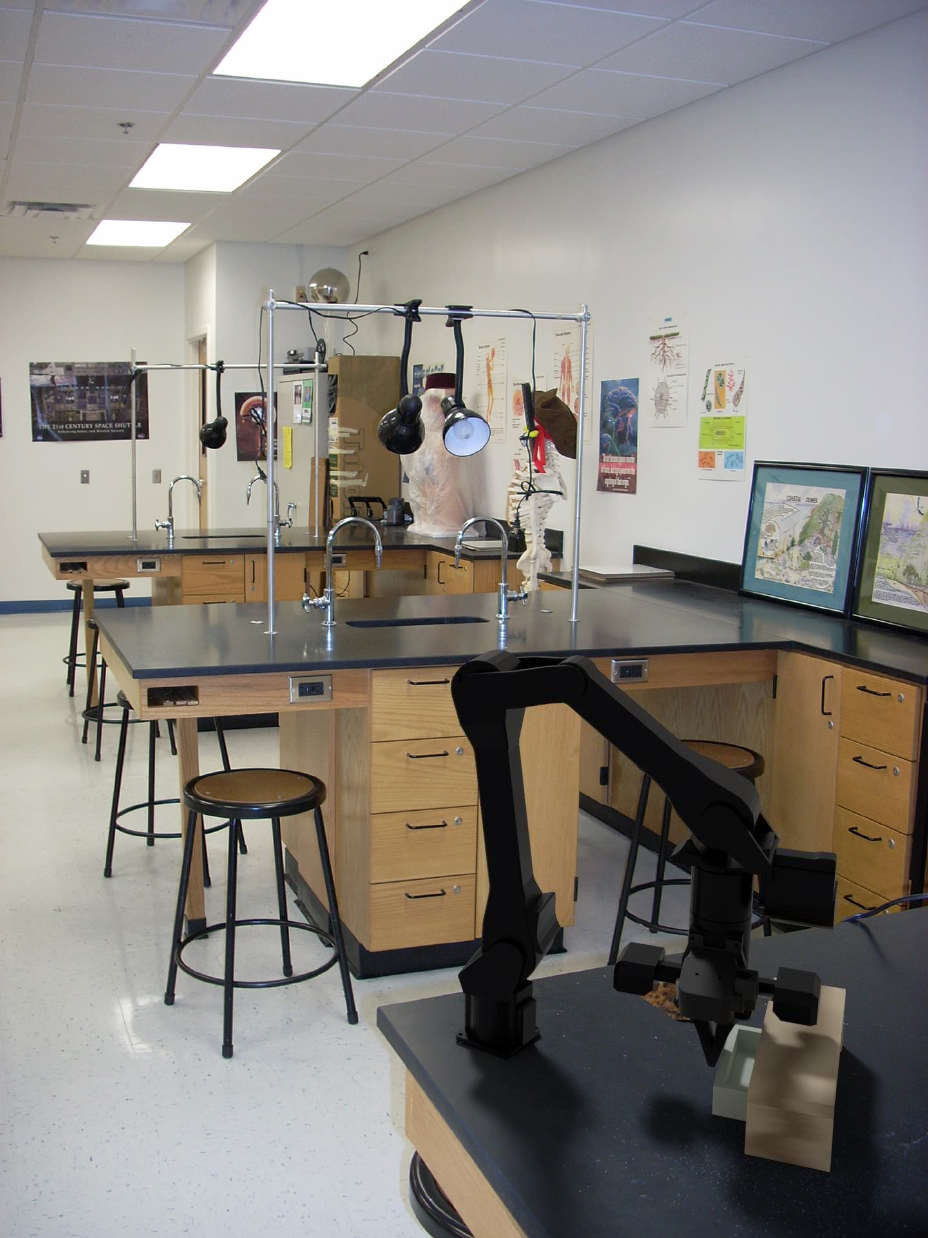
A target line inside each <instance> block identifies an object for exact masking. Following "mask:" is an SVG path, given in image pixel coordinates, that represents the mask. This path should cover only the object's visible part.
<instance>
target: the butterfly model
mask: <svg viewBox="0 0 928 1238" xmlns="http://www.w3.org/2000/svg"><path fill="white" fill-rule="evenodd" d="M676 991H677V989H676V984H672V983H667V982H661V981H657V982H654V988H653V990H652V991H651V992H649V993H648V994H647V995H645V996H640V995H638V996H639V997H640V998H641V999H644V1000H645V1001H647V1002H649V1003H650V1004H651V1005H653V1007H655V1006H656V1008H658V1009H660V1010H661V1011H663V1012H664V1013H666V1015H667V1016H668V1017H670V1018H671V1019H673V1020H676V1021H684V1020H685V1021H689V1022H693V1021H692V1019H691V1018H686V1017H684V1016H682V1015H681V1014H680V1012H679V1009H677V1008H676V1007H675V1006H674V1000H675V998H676Z"/></svg>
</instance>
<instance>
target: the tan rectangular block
mask: <svg viewBox="0 0 928 1238" xmlns="http://www.w3.org/2000/svg"><path fill="white" fill-rule="evenodd" d="M773 979H774V980H776V979H777V977H773ZM846 991H847V989H846V988H841V987H836V986H835V987H834V986H829V985H821V999H820V1006H819V1013H818V1020H817V1025H813V1026H805V1025H800V1024H794V1023H789V1022H783V1021H780V1020H779V1018H778V1017H777V1016H776V1015H775V1014H774V1013H773V1012H772V1009H773V1001H768V1002H767V1006H766V1010H765V1011H766V1012H765V1015H764V1019H763V1022H762V1023H763V1024H762V1027H761V1029H762V1031H761V1036H760V1040H759V1044H758V1048H757V1053H756V1057H755V1061H754V1065H753V1070H752V1074H751V1078H750V1082H749V1087H748V1096H747V1116H746V1121H745V1137H744V1140H745V1141H744V1155H748V1156H753V1157H758V1158H763V1159H767V1160H770V1161H771V1160H773V1161H777V1162H781V1163H786V1164H791V1165H794V1166H800V1167H805V1168H807V1169H808V1168H810V1169H815V1170H817V1171H818V1170H819V1171H823V1172H828V1173H830V1172H831V1164H832V1163H831V1161H832V1147H833V1145H832V1144H833V1131H834V1118H835V1117H834V1115H835V1104H836V1103H835V1102H836V1096H837V1095H836V1094H837V1093H836V1092H837V1085H838V1084H837V1083H838V1076H839V1075H838V1074H839V1064H840V1053H842V1050H843V1036H844V1027H845V1025H844V1023H845V1010H846V1009H845V1007H846V994H847V993H846Z"/></svg>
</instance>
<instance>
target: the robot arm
mask: <svg viewBox="0 0 928 1238" xmlns="http://www.w3.org/2000/svg"><path fill="white" fill-rule="evenodd" d="M451 678H452V679H451V682H450V694H451V699H452V704H453V706H454V708H455V709H454V710H455V713H456V716H457V720H458V724H459V726H460V727H461V729H462V731H463V733H464V734H465V737H466V738H467V740H468V742H469V744H470V745H471V748H472V749H473V756H474V761H475V770H476V778H477V789H478V790H477V791H478V798H479V806H480V815H481V816H480V817H481V824H482V826H481V827H482V834H483V842H484V851H485V861H486V867H487V868H486V870H487V878H488V893H487V900H486V905H485V908H484V913H483V919H482V922H481V924H482V925H481V940H480V946H479V948H478V949H477V950H476V951H475V953H474V954H473V955H472V956H471V957H470V959H469V960H468V961H467V962H466V964H465V965H464V966H463V967H462V969H461V970H460V971H459V973H458V974H457V977H458V978H457V979H458V980H459V984H460V986H461V990H462V992H463V995H464V1027H463V1028H461V1029H460V1030H458V1031H457V1032H456V1033H455V1040H456V1041H459V1042H461V1043H465V1044H467V1045H470V1046H472V1047H476V1048H478V1049H480V1050H484V1051H486V1052H489V1053H491V1054H494V1055H496V1056H499V1057H502V1058H510V1057H512V1056H513V1055H514V1054H516V1053H517V1052H518V1051H519V1050H520V1049H522V1048H523V1047H524V1046H525V1045H527V1044H528V1043H530V1041H532V1040H533V1039H534V1038H536V1036H537V1037H538V1035H539V1034H540V1033H541V1027H540V1026H538V1025H537V999H536V998H535V997H534V996H533V995H534V982H533V980H530V979H529V978H530V977H531V975H532V974H533V973H534V972H535V971H536V970H537V968H538V967H539V964H540V963H541V962H542V960H543V959H544V957H545V956H546V955H547V953H548V951H550V948H551V947H552V945H553V943H554V940H555V937H556V936H557V934H558V932H559V930H560V929H561V924H560V923H559V921H558V918H557V913H556V907H557V906H556V903H557V895H556V891H548V892H543V891H542V890H541V888H540V886H539V884H538V883H537V881H536V878H535V876H534V875H535V874H534V868H533V867H534V866H533V858H532V849H531V839H530V831H529V822H528V821H529V820H528V811H527V803H526V795H525V784H524V775H523V767H522V756H521V749H520V748H521V747H520V740H521V739H520V738H521V734H522V733H521V732H522V728H523V723H524V718H525V714H526V708H530V707H538V706H544V705H550V704H551V705H552V704H553V705H554V704H565V705H567V706H568V707H570V709H571V710H573V711H574V712H575V713H576V714H577V715H578V716H579V717H580V718H582V719H583V720H584V721H585V722H586V723H588V724H589V726H591V727H592V728H593V729H594V730H596V732H598V733H599V734H600V735H601V736H602V737H603V738H604V739H606V740H607V741H608V742H609V743H610V744H611V745H613V746H614V748H616V749H617V750H618V751H619V752H620V753H622V754H623V755H624V756H625V757H626V758H627V759H628V760H630V762H632V763H633V764H634V765H635V766H636V767H638V768H639V769H640V770H641V772H643V773H645V774H646V775H647V776H648V777H649V778H650V779H651V780H653V782H655V783H656V784H657V786H658V787H659V788H660V789H661V791H663V793H664V795H665V796H666V798H667V799H668V801H669V802H670V805H671V807H672V809H673V810H674V812H675V813H676V815H677V816H678V817H679V819H680V820H681V821H682V822H683V824H684V825H685V826H686V827H687V829H689V831H690V834H689V835H688V836H687V838H686V839H685V840H683V841H682V842H680V843H678V844H677V845H676V846H675V848H674V850H673V852H672V854H671V855H670V857H669V858H670V859H669V860H670V862H671V864H677V865H681V866H687V867H688V866H691V869H690V870H691V873H690V874H691V876H690V889H689V890H690V893H689V909H688V910H689V912H688V913H689V915H688V930H687V931H688V932H687V933H688V934H687V945H686V948H685V949H684V952H683V954H682V956H681V963H680V962H673V961H669V960H668V961H667V960H666V949H665V947H663V946H657V945H653V944H646V943H640V942H634V941H629V943H627V944H626V945H625V946H624V947H623V949H622V950H621V953H620V954H619V955H618V958H617V959H616V961H615V963H614V970H613V979H612V980H613V982H612V983H613V985H612V988H613V989H614V990H615V991H617V992H619V993H625V994H632V995H635V996H639V995H640V996H645V995H647V994H648V993H649V992H651V991H652V990H653V988H654V983H655V982H656V981H657V982H660V981H661V982H667V983H672V984H676V989H677V991H676V998H675V1000H674V1006H675V1007H676V1008H677V1009H679V1012H680V1014H681V1015H682V1016H684V1017H686V1018H691V1019H692V1021H691V1022H692V1024H693V1026H694V1027H695V1030H696V1033H697V1035H698V1038H699V1042H700V1046H701V1049H702V1052H703V1055H704V1058H705V1061H706V1065H707V1067H709V1068H712V1069H713V1068H716V1066H717V1063H718V1061H719V1058H720V1056H721V1054H722V1051H723V1050H724V1048H725V1044H726V1041H727V1037H728V1035H729V1034H730V1032H731V1030H732V1029H733V1027H734V1026H735V1024H737V1023H738V1022H749V1021H751V1020H752V1018H753V1014H754V1012H755V1010H756V1008H757V1003H758V1000H763V1001H768V1002H769V1001H773V1009H772V1012H773V1013H774V1014H775V1015H776V1016H777V1017H778V1018H779V1020H780V1021H783V1022H789V1023H794V1024H800V1025H805V1026H813V1025H817V1020H818V1013H819V1006H820V999H821V985H822V979H821V977H820V975H818V974H817V972H814V971H807V970H802V969H796V968H790V967H783V966H779V967H778V971H777V975H776V978H777V979H776V980H774V978H767V977H763V976H761V977H760V975H759V971H758V970H755V969H750V951H751V936H752V935H751V934H752V921H753V920H752V919H753V918H752V917H753V903H754V901H753V899H754V884H755V875H756V876H760V877H759V878H760V880H759V887H758V888H759V890H758V908H760V909H763V916H764V917H767V918H768V917H769V920H770V921H771V922H777V923H782V924H789V925H790V924H791V925H795V926H803V927H809V928H815V929H822V930H828V931H835V924H836V915H837V903H838V892H839V880H837V869H838V868H837V867H838V865H837V864H838V855H837V853H835V852H829V851H806V850H805V851H804V850H799V849H792V848H791V849H790V848H783V847H779V844H780V841H781V839H780V837H779V835H778V834H777V833H776V831H775V830H774V829H773V827H772V826H771V824H770V822H769V820H768V819H767V818H766V816H765V815H764V814H763V812H762V811H761V808H762V807H761V806H762V805H761V797H760V795H761V794H760V793H759V791H758V788H756V786H755V785H754V783H752V782H751V781H750V780H749V779H748V778H746V777H745V776H743V775H741V774H740V773H738V772H737V771H735V770H734V769H732V768H730V767H728V766H727V765H725V764H723V763H722V762H721V761H718V760H715V759H713V758H710V757H708V756H705V755H703V754H701V753H699V752H697V751H695V750H693V749H692V748H691V747H689V746H687V745H686V744H685V743H684V742H682V741H681V740H680V739H679V738H678V737H677V736H675V735H674V733H672V732H671V731H670V730H669V729H667V728H666V727H665V726H664V725H663V724H662V723H661V722H660V721H658V720H657V719H656V718H655V717H653V716H652V715H651V714H650V713H649V712H648V711H647V710H645V709H644V707H642V706H641V705H640V704H638V703H637V702H636V701H635V700H634V699H633V698H632V697H630V695H628V694H627V693H626V692H625V691H624V690H622V688H620V687H619V686H618V685H617V684H615V682H613V681H612V680H611V679H610V678H609V677H607V676H606V675H605V674H604V673H603V672H601V670H599V668H598V667H597V666H596V664H595V663H594V662H593V660H591V659H590V658H588V657H586V656H583V655H578V654H575V655H571V656H563V657H560V656H546V655H544V656H543V655H538V656H537V655H536V656H535V655H529V656H516V655H514V653H512V652H510V651H508V650H506V649H497V648H496V649H492V650H488V651H485V652H483V653H481V655H479V656H476V657H474V658H472V659H471V660H469V661H467V662H465V663H464V664H462V665H461V666H460V667H459V668H458V670H456V672H455V673H454V675H452V677H451ZM640 996H639V997H640ZM715 1024H716V1026H715Z"/></svg>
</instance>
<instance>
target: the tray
mask: <svg viewBox="0 0 928 1238" xmlns="http://www.w3.org/2000/svg"><path fill="white" fill-rule="evenodd" d="M761 1031H762V1028H759V1027H758V1028H757V1027H753V1026H752V1027H751V1026H748V1025H741V1024H737V1023H736V1024H735V1026H734V1027H733V1029H732V1030H731V1032H730V1034H729V1035H728V1037H727V1040H726V1042H725V1044H724V1047H723V1050H722V1051H723V1052H722V1053H721V1054H722V1055H721V1059H720V1062H719V1064H718V1069H717V1071H716V1076H715V1078H714V1082H713V1086H712V1087H713V1088H712V1106H711V1107H712V1108H711V1109H712V1110H711V1113H712V1115H714V1116H719V1117H724V1118H728V1119H733V1120H738V1121H743V1122H746V1116H747V1096H748V1087H749V1082H750V1078H751V1074H752V1070H753V1065H754V1061H755V1057H756V1053H757V1048H758V1044H759V1040H760V1036H761Z"/></svg>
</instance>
